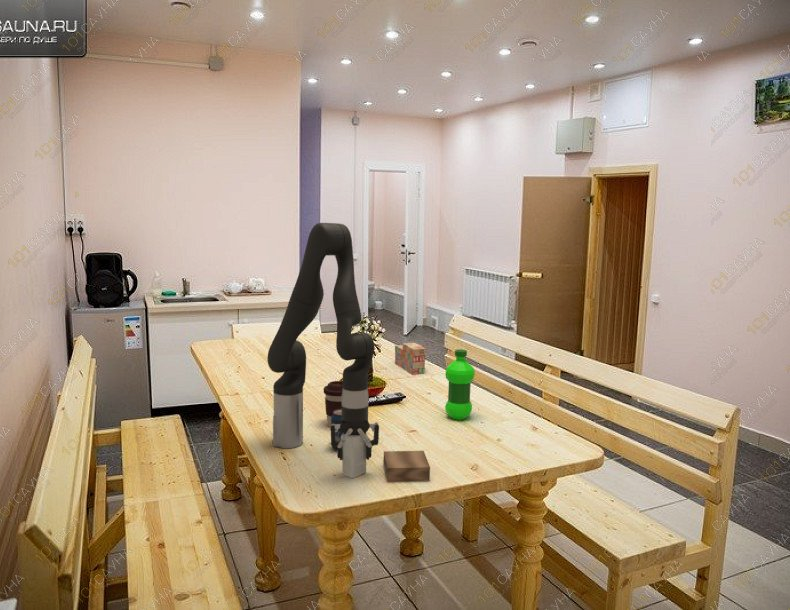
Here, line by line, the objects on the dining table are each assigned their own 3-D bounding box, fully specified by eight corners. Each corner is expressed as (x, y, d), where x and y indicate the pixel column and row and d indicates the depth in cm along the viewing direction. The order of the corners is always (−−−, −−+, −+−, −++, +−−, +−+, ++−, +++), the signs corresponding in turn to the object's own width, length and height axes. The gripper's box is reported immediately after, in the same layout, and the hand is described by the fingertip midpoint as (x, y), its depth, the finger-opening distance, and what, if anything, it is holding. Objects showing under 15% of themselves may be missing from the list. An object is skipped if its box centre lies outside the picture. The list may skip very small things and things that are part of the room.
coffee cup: (325, 431, 214) (326, 388, 212) (321, 421, 223) (321, 380, 221) (354, 428, 217) (355, 386, 214) (348, 419, 226) (349, 378, 224)
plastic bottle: (474, 414, 234) (477, 348, 230) (469, 423, 224) (472, 355, 220) (447, 411, 237) (449, 346, 233) (441, 420, 227) (444, 352, 223)
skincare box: (355, 468, 185) (356, 429, 183) (366, 472, 182) (367, 432, 180) (341, 474, 180) (341, 434, 178) (352, 479, 178) (352, 438, 176)
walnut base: (387, 481, 176) (387, 468, 176) (383, 464, 188) (383, 451, 187) (429, 480, 178) (430, 467, 177) (423, 463, 189) (423, 450, 189)
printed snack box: (394, 363, 305) (395, 339, 303) (406, 362, 308) (407, 338, 306) (412, 375, 286) (413, 348, 284) (424, 374, 288) (425, 347, 286)
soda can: (353, 444, 203) (353, 408, 201) (352, 452, 196) (353, 415, 194) (331, 443, 203) (331, 408, 201) (330, 452, 196) (330, 415, 194)
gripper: (329, 408, 173) (329, 464, 176) (381, 407, 175) (380, 463, 178) (329, 399, 181) (329, 454, 183) (379, 398, 182) (378, 453, 185)
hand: (354, 458), depth 181 cm, fingers closed on skincare box, 7 cm apart
